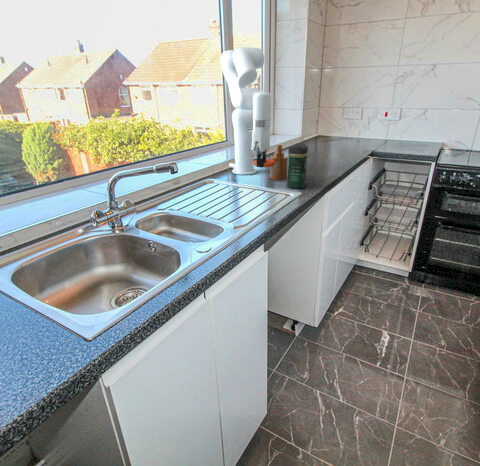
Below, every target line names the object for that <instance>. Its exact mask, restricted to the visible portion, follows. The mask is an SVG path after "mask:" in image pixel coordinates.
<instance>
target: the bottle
mask: <svg viewBox="0 0 480 466" xmlns="http://www.w3.org/2000/svg"><path fill="white" fill-rule="evenodd" d="M269 159H271V160H274V161H275V166H273V167H269V179H270V180H272V181H287V176H288V155H285V152H284V151H283V145H282V144H276V150H275V151H274V153H273V155H271V156H270V157H269Z"/></svg>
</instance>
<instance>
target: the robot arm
mask: <svg viewBox="0 0 480 466" xmlns="http://www.w3.org/2000/svg"><path fill="white" fill-rule="evenodd" d="M264 64H265V54H264V51H263V50H262V49H261V48H260V47H250V46H249V47H248V46H246V47H245V46H244V47H243V46H242V47H238V48H236V49H228V50H225V51H223V52H222V53H221V55H220V67H221V68H220V69H221V71H222V74H223V77H224V79H225V80H226V82H227V87H228V91H229V96H230V102H231V104H232V106H233V107H234V108H235V109H234V110H233V111H232V113H231V122H232V127H233V137H234V138H233V139H234V163H232V162H229V164H228V167H229V168H233V169H232V171H231V172H232V174H235V175H239V176H243V175H244V176H246V175H247V176H248V175H254V174H256V173H257V168H260V169H261V168H262V169H263V168H265V167H264V163H266V159H267V153H268V152H267V151H268V150H269V149H270V145H271V144H270V143H271V131H270V130H271V129H270V128H271V126H272V125H271V122H272V121H271V120H272V119H271V118H272V95H271V93H270V92H267V91H265V90H260V88H256V87H247V86H249V85H251V84H253V83H254V82H255V81H256V80H257V79H258V71H257V70H258V69H261V68H263V66H264ZM250 129H252V132H250ZM254 156H255V158H256V160H257V166H256V168H255V167H254Z"/></svg>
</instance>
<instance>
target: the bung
mask: <svg viewBox="0 0 480 466" xmlns="http://www.w3.org/2000/svg"><path fill="white" fill-rule="evenodd" d="M273 166H275V161H274V160H271V159H270V158H266V163H264V167H263V168H270V167H273ZM253 167H257V159H254V160H253Z"/></svg>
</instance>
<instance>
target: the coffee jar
mask: <svg viewBox="0 0 480 466" xmlns="http://www.w3.org/2000/svg"><path fill="white" fill-rule="evenodd" d="M308 149H309V147H308V145H306V144H305V143H295V144H293V145H291V146H289V147H288V151H287V153H288V155H287V156H288V169H287V179H286V187H287V188H291V189H295V190H297V189H303V188H304V187H305V186H306V185H307V167H308V166H307V165H308V153H309V152H308Z"/></svg>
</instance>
